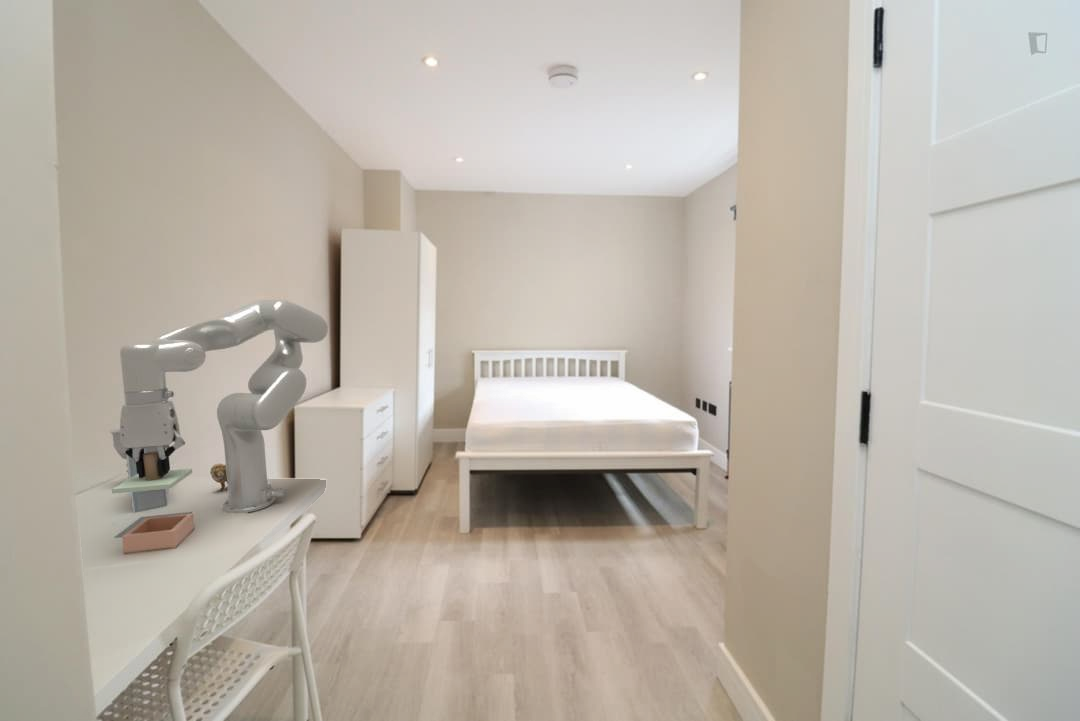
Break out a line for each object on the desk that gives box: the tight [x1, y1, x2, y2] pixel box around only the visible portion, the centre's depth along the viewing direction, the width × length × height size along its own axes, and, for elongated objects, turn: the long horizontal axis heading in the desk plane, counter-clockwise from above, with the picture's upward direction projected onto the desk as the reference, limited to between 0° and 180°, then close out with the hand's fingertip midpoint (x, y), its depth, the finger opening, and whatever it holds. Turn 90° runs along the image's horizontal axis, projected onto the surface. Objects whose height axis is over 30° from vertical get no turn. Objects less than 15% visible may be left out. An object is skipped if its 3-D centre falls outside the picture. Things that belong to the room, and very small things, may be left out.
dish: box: [121, 512, 196, 555], centre depth 114 cm, size 10×10×4 cm
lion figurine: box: [210, 463, 228, 492], centre depth 150 cm, size 15×5×9 cm, turn 161°
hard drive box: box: [126, 447, 169, 513], centre depth 138 cm, size 16×8×20 cm, turn 37°
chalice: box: [109, 427, 129, 483], centre depth 151 cm, size 7×7×18 cm
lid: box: [111, 451, 193, 495], centre depth 112 cm, size 11×11×7 cm
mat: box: [113, 511, 193, 539], centre depth 124 cm, size 12×12×1 cm
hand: (154, 474), depth 113 cm, fingers closed on lid, 3 cm apart
